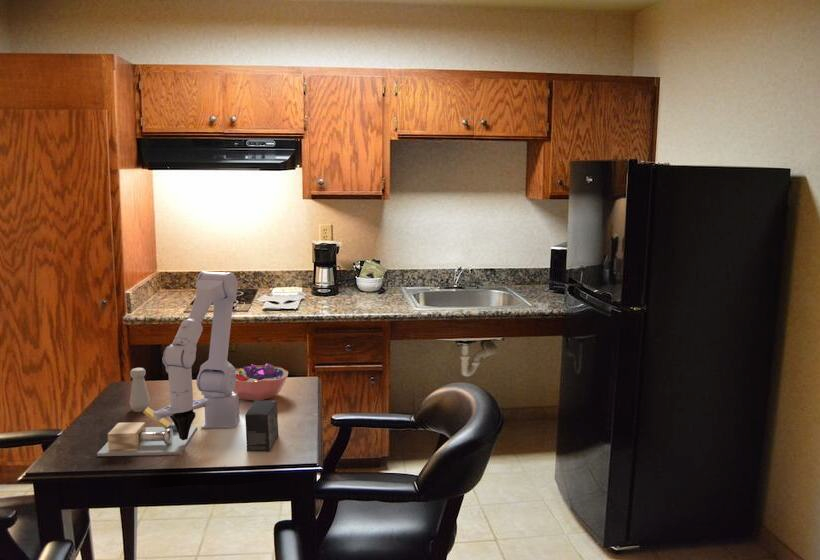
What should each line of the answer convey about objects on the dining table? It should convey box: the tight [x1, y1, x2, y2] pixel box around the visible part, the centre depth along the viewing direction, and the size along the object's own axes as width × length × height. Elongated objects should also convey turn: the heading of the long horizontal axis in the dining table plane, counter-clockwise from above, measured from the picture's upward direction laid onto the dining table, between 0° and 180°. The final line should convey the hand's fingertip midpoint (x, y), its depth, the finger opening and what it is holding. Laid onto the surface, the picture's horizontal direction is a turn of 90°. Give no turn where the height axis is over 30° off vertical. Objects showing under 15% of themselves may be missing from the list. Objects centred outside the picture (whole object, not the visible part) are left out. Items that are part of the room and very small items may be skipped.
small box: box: [244, 399, 280, 453], centre depth 179 cm, size 11×6×10 cm, turn 178°
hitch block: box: [107, 421, 146, 451], centre depth 176 cm, size 7×8×5 cm
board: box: [96, 425, 198, 457], centre depth 180 cm, size 21×17×1 cm
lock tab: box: [142, 406, 172, 429], centre depth 186 cm, size 8×3×1 cm
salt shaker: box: [129, 367, 151, 413], centre depth 203 cm, size 6×6×13 cm
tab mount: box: [170, 421, 178, 432], centre depth 186 cm, size 2×3×2 cm, turn 4°
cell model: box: [232, 363, 289, 402], centre depth 214 cm, size 17×20×11 cm
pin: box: [138, 429, 173, 444], centre depth 177 cm, size 12×4×4 cm, turn 94°
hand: (183, 438), depth 177 cm, fingers closed
